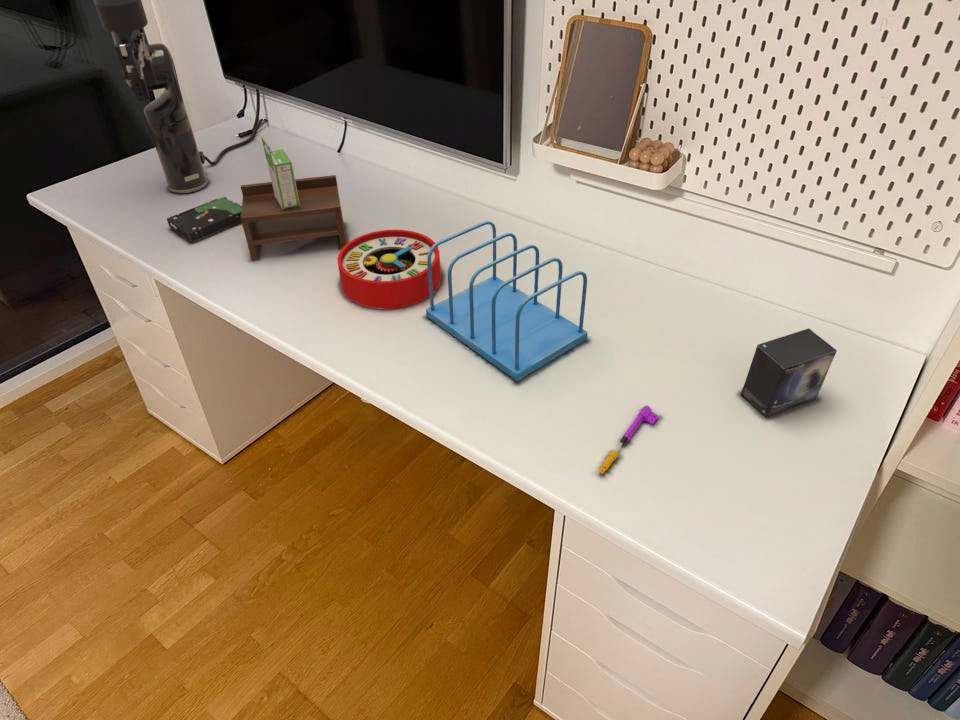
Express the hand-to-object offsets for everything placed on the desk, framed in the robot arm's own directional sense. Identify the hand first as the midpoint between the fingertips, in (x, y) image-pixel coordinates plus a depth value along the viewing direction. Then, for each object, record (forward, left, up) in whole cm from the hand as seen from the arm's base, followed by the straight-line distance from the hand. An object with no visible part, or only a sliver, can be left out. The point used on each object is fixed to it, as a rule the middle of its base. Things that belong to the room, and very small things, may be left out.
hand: (147, 92), depth 131 cm
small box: (+74, +97, -33) cm, 127 cm away
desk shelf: (+5, +22, -33) cm, 40 cm away
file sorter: (+46, +59, -33) cm, 81 cm away
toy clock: (+25, +40, -33) cm, 58 cm away
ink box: (+6, +22, -23) cm, 32 cm away
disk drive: (-8, +2, -33) cm, 34 cm away
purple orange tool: (+78, +70, -33) cm, 110 cm away
